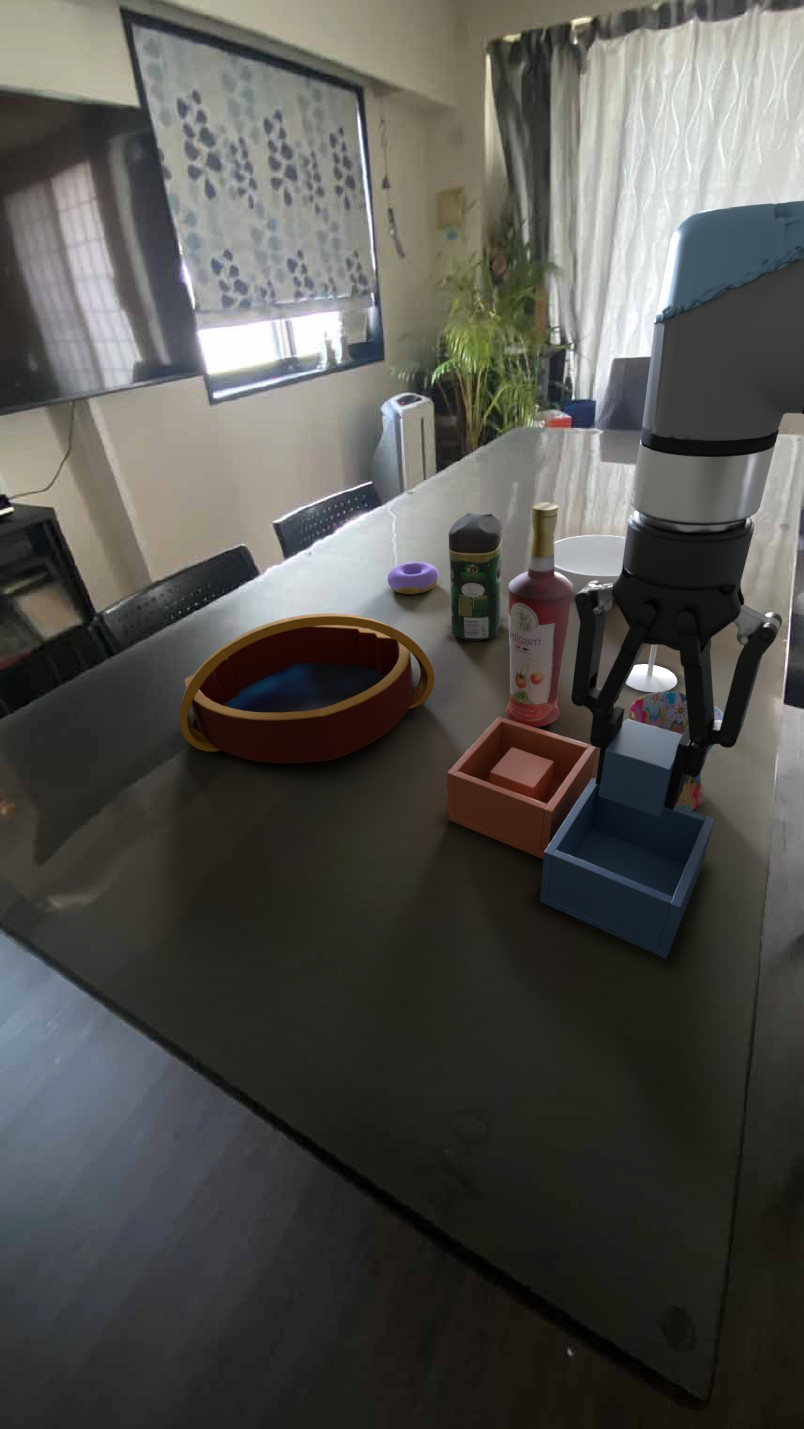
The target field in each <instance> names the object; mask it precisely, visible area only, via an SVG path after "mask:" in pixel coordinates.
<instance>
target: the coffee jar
mask: <svg viewBox="0 0 804 1429" xmlns="http://www.w3.org/2000/svg"><path fill="white" fill-rule="evenodd" d="M502 526H503V525H502V522H501V521H500V519H499V518H498V517H496V516H495V515H494V514H493V513H489V512H467V513H465V515H463V516H461V517H460V518H459V519H457V520H456V521H455V522H454V523H453V524H452V526H451V527H450V529H449V531H448V556H449V574H450V575H449V578H450V579H449V580H450V619H451V620H450V622H451V623H450V624H451V626H450V628H451V633H452V635H453V636H454V637H456V638H459V639H462V640H465V641H471V642H479V641H483V640H489V639H492V638H494V637H495V635H496V634H497V632H498V631H499V629H500V626H501V622H502V545H503V544H502V542H503V527H502Z"/></svg>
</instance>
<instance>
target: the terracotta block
mask: <svg viewBox="0 0 804 1429" xmlns="http://www.w3.org/2000/svg"><path fill="white" fill-rule="evenodd" d="M553 767H554V761H551V760H548V759H545V758H542V757H539V756H536V755H534V754H531V753H528V752H525V751H522V750H519V749H516V748H513V747H512V748H511V749H510V750H509V751H508V752H507V754H506V755H505V756H504V757H503V758H502V759H501V760H500V762H499V763H498V764H497V765H496V766H495V767H494V768H493V770H492V771H491V772H490V783H491V784H493V785H496V786H499V787H502V788H504V789H507V790H510V791H512V792H515V793H518V794H521V795H523V796H526V797H529V798H531V799H534V800H537V801H540V802H542V803H545V804H546V802H547V801H548V800H549V798H550V797H551V790H552V779H553Z"/></svg>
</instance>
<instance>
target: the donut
mask: <svg viewBox="0 0 804 1429" xmlns="http://www.w3.org/2000/svg"><path fill="white" fill-rule="evenodd" d="M439 579H440V573H439V570H438V568H436V567H435V566H434V565H433V564H430V563H427V562H421V561H410V562H405V563H402V564H398V565H396V566H395V567H393V568H392V569H391V570H390V571H389V573H388V575H387V583H388V586H389V587H390V588H391V590H393V591H395V593H399V594H403V595H417V594H423V593H425V592H428V591H430V590H431V589H433V588H434V587H435V586H436V585H437V584H438V582H439Z"/></svg>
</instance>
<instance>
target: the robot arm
mask: <svg viewBox="0 0 804 1429" xmlns="http://www.w3.org/2000/svg"><path fill="white" fill-rule="evenodd" d="M660 293H661V294H660V299H659V304H658V308H657V312H656V314H654V318H653V325H654V327H653V336H652V344H651V352H650V353H651V355H650V362H649V367H648V368H649V369H648V377H647V384H646V385H647V386H646V392H645V401H644V408H643V415H642V416H643V418H642V424H641V425H642V427H641V429H640V430H641V431H640V437H639V438H640V440H639V443H638V444H639V445H638V451H637V458H636V465H635V471H634V479H633V483H632V484H633V485H632V492H631V498H630V505H631V506H632V508H634V510H635V511H633V513H632V514H631V515H630V516H629V518H628V521H627V528H626V534H625V535H626V536H625V538H626V542H625V549H624V557H623V564H622V571H621V573H620V575H619V577H618V578H617V580H616V581H615V582H614V583H609V584H602V585H601V584H600V583H599V582H597V581H591V582H589V583H588V584H587V585H586V586H585V587H584V588H583V589H582V590H581V591H580V592H579V593H578V594H575V597H574V603H575V608H576V612H577V615H578V620H579V629H578V638H577V645H576V655H575V662H574V669H573V670H574V671H573V679H572V689H571V696H570V700H571V703H572V704H573V705H574V706H576V707H585V708H586V709H587V710H589V711H590V712H591V715H592V719H591V728H590V735H589V741H590V745H591V746H595V747H596V748H598V749H599V756H598V763H597V769H596V778H595V779H596V783H595V784H597V785H600V786H601V779H602V772H603V766H604V759H605V752H606V749H607V748H608V746H609V744H610V743H611V742H612V740H613V739H614V737H615V736H616V734H617V732H618V731H619V729H620V728H621V726H622V725H623V723H624V722H623V721H624V715H625V707H622V706H619V705H615V704H616V703H617V701H618V700H619V698H620V695H621V693H622V691H623V689H624V687H625V685H626V681H627V679H628V677H629V675H630V673H631V671H632V669H633V667H634V665H636V663H637V661H638V659H639V657H640V655H641V653H642V651H643V649H644V647H645V645H646V644H647V645H651V646H652V645H660V646H662V645H663V646H665V647H667V648H669V649H671V650H674V651H678V652H679V659H680V665H681V666H682V668H683V680H684V690H685V693H686V701H687V713H688V724H689V726H687V727H686V729H685V731H684V733H683V735H682V737H681V739H680V741H679V743H678V746H677V750H676V755H675V759H674V765H673V769H672V774H671V778H670V783H669V787H668V791H667V796H666V800H665V804H664V807H665V808H668V809H671V810H673V809H674V807H675V805H676V803H677V801H678V799H679V797H680V794H681V792H682V790H683V786H684V782H685V777H686V775H689V776H692V777H697V776H698V775H699V774H700V772H701V773H702V770H703V768H704V765H705V763H706V759H707V756H708V754H707V752H708V748H709V746H710V745H712V744H714V745H720V746H721V747H723V748H727V749H729V748H733V747H734V746H735V745H736V743H737V741H738V738H739V737H740V734H741V731H742V729H743V726H744V722H745V719H746V716H747V713H748V712H747V711H748V709H749V704H750V701H751V697H752V694H753V690H754V686H755V683H756V679H757V675H758V672H759V668H760V665H761V661H762V657H763V655H764V654H765V653H766V652H767V650H768V649H769V648H770V646H772V644H773V643H774V642H775V640H776V638H777V636H778V633H779V632H780V628H781V626H782V623H783V618H782V616H781V615H780V613H776V612H766V614H763V613H761V612H759V611H757V610H755V609H754V608H751V607H750V606H747V605H745V597H744V595H743V591H742V586H741V585H742V584H741V583H742V578H743V575H744V570H745V566H746V564H747V563H746V562H747V558H748V554H749V550H750V547H751V543H752V540H753V535H754V531H755V526H756V525H755V523H754V521H753V520H752V518H751V517H752V516H753V515H756V514H757V513H758V512H759V509H760V507H761V504H762V500H763V496H764V492H765V488H766V484H767V480H768V475H769V472H770V468H771V463H772V460H773V455H774V451H775V447H776V443H777V441H778V440H777V439H778V435H779V432H780V430H779V428H780V425H781V424H782V423H781V422H782V420H783V417H784V415H785V414H801V415H804V200H793V201H787V202H778V203H777V202H776V203H773V202H771V203H759V204H749V205H748V204H747V205H741V206H740V205H739V206H731V207H723V208H716V209H715V208H714V209H707V210H703V211H699V212H696V213H693V214H691V215H690V216H688V217H687V218H686V219H684V221H683V222H681V223H680V225H679V226H678V227H677V229H676V230H675V231H674V233H673V235H672V238H671V240H670V243H669V251H668V256H667V261H666V267H665V272H664V277H663V282H662V288H661V292H660ZM613 601H614V603H615V604H616V605H617V607H618V609H619V612H620V613H621V614H622V617H623V618H624V620H625V621H626V624H627V625H628V627H629V628H628V630H627V632H626V634H625V637H624V639H623V642H622V643H621V645H620V649H619V651H618V654H617V656H616V658H615V660H614V662H613V664H612V667H611V669H610V671H609V673H608V675H607V677H606V680H605V681H604V683H603V686H602V688H601V689H600V688H598V687H597V685H598V679H599V672H600V664H601V658H602V651H603V644H604V636H605V631H606V623H607V615H608V612H609V610H610V609H612V607H613V606H612V605H613ZM731 624H735V625H736V627H737V634H736V640H737V641H738V643H739V644H740V645H742V646H743V647H742V649H741V650H740V653H739V655H738V658H737V661H736V664H735V668H734V673H733V677H732V681H731V683H730V688H729V691H728V695H727V700H726V704H725V707H724V712H723V714H724V715H723V719H722V720H715V717H714V705H715V704H714V690H713V689H714V688H713V678H712V677H713V675H712V673H713V672H712V660H711V649H712V638H713V637H715V636H716V635H717V634H719V633H720V632H721V631H722V630H724V629H725V628H727V627H728V626H730V625H731ZM708 753H709V752H708Z"/></svg>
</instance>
